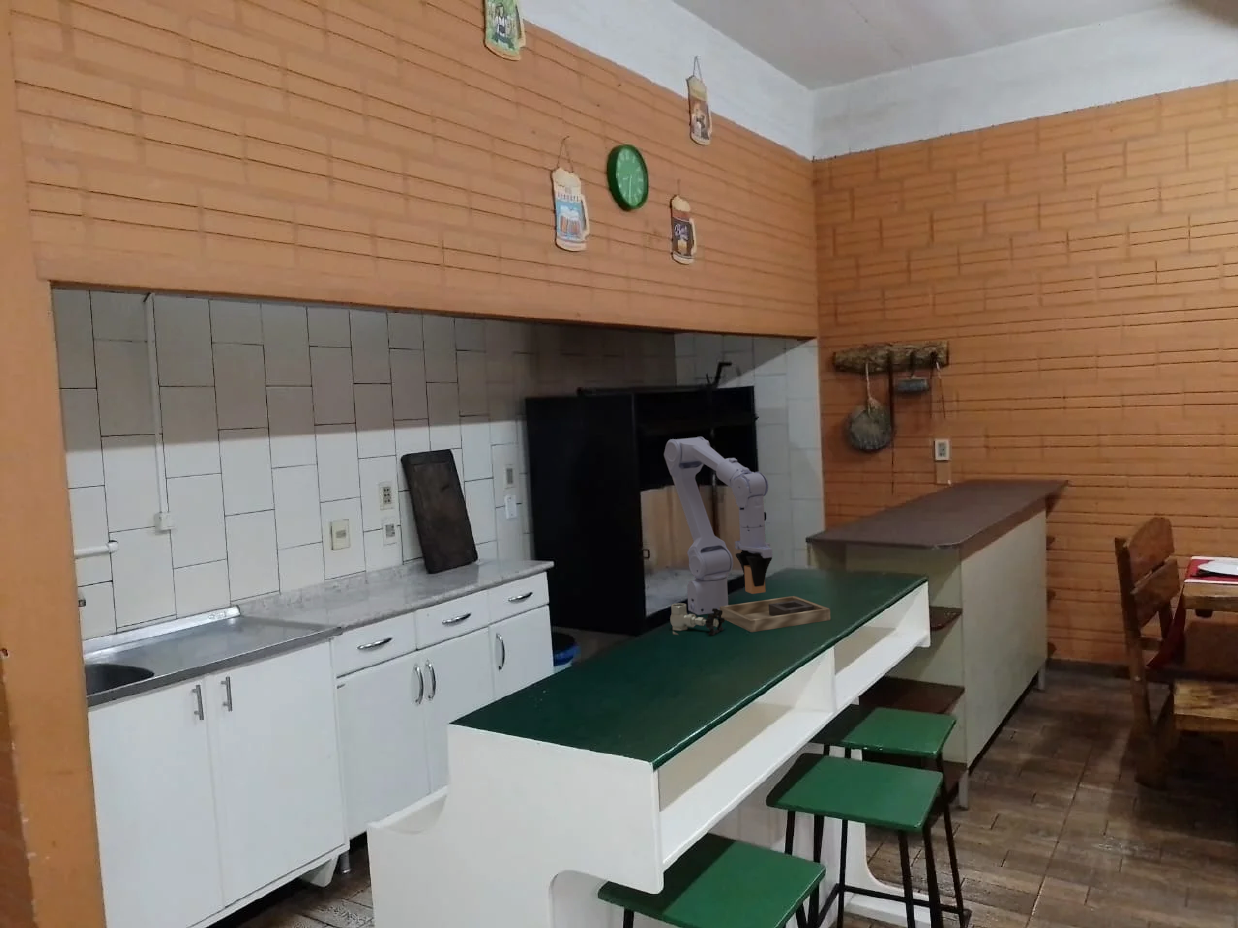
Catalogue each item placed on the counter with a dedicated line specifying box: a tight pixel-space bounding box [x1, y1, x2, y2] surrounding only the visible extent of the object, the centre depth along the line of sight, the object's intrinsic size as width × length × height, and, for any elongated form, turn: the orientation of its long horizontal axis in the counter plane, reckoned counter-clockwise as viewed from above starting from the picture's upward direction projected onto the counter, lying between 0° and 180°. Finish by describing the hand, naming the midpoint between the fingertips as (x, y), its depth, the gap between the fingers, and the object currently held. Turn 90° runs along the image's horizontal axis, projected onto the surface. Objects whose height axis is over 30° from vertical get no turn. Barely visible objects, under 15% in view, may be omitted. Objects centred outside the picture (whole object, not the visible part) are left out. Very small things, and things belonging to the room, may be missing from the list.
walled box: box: [720, 595, 831, 633], centre depth 215 cm, size 20×16×4 cm
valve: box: [669, 602, 726, 637], centre depth 209 cm, size 7×7×12 cm
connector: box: [744, 565, 766, 595], centre depth 213 cm, size 3×3×7 cm
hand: (755, 584), depth 213 cm, fingers closed on connector, 3 cm apart
